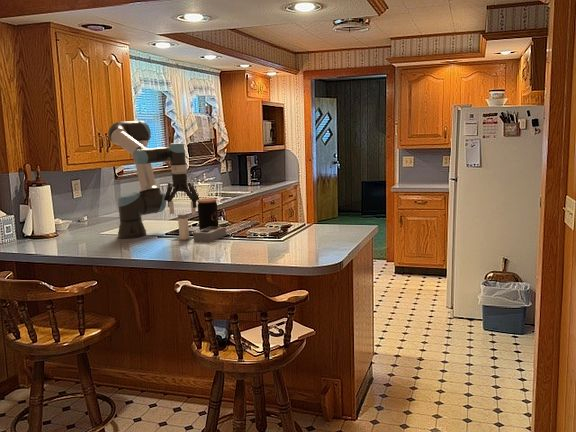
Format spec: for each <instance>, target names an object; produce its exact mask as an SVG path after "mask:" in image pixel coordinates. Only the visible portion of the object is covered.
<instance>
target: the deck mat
mask: <svg viewBox="0 0 576 432" xmlns="http://www.w3.org/2000/svg"><path fill="white" fill-rule="evenodd" d="M192 240H194V237H193V236H189V239H186V240H182V239H180V236H179V237H176V238H173V239H171V241H175V242H189V241H192Z"/></svg>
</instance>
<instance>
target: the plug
mask: <svg viewBox="0 0 576 432" xmlns="http://www.w3.org/2000/svg"><path fill="white" fill-rule="evenodd" d="M177 220H178V221H177V222H178V235H179V237H180V239H182V240H186V239H189V237H190V229H189V227H190V226H189V217H188V213H180V214H178V215H177Z"/></svg>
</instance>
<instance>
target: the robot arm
mask: <svg viewBox="0 0 576 432" xmlns="http://www.w3.org/2000/svg"><path fill="white" fill-rule="evenodd" d="M108 128H109V129H108V130H107V137H108V138H109V139H108V140H109V141H111V143H112V144H114V145H116V146H119V147H121V148H122V149H123V150H124V151H126V152H127V153H129V154H130V155H131V156H132V158H133V161H134V163H135V167H136V168H135V169H136V172H137V178H138V181H139V185H140V190H139V191H138V192H137V191H135V192H128V193H125V194H121V195H120V196H119V197H118V198H117V206H118V214H119V227H118V232H117V236H118V238H120V239H135V238H139V237H144V236H146V235H147V230H146V229H145V226H144V223H143V219H142V218H143V217H142V216H146V215H151V214H157V213H158V214H159V213H162V212H163V211H164V210H165V209H166V206H167V208H168V209H169V214H170V215H173V214H175V207H174V200H173V199H174V198H175V195H177V192H183V193H185V194H186V196H187V197H188V198H189V199H190V200H191V201H190V208H191V215H192V216H193V215H196V214H197V208H198V204H197V200H200V197H199V195H198V193H197V190H196V189H195V188H194V184H193V182H192V181H191V182H188V173H187V172H188V171H187V164H186V163H187V162H186V149H185V144H184V143H183V142H174V143H170V144H169V146H162V147H154V148H153V147H152V148H151V147H150V148H149V147H148V144H150V143H149V141H150V139H151V138H152V137H151V134H152V132H151V128H150V126H149V124H148V123H147V122H145V121H144V120H130V121H129V120H127V121H126V120H125V121H116V122H114V123H113V124H111V126H110V127H108ZM164 162H165V163H167V162H170V169H171V179H172V182H168V183H167V188H166V189H167V190H166V192H164V191H161V190H160V189H161V188H160V187H159V186H157V184H156V180H155V175H154V172H153V171H154V170H153V166H152V164H157V163H164Z"/></svg>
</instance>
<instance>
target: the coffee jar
mask: <svg viewBox="0 0 576 432" xmlns="http://www.w3.org/2000/svg"><path fill="white" fill-rule="evenodd" d="M217 201H218V199H217V198H201V199H200V198H199V200H197V201H196V203H198V204H197V214H198V216H197V217H198V226H199V230H201V229H204V228H207V227H209V226H213V227H220V226H219V213H218V211H219V210H218V204H217Z"/></svg>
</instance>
